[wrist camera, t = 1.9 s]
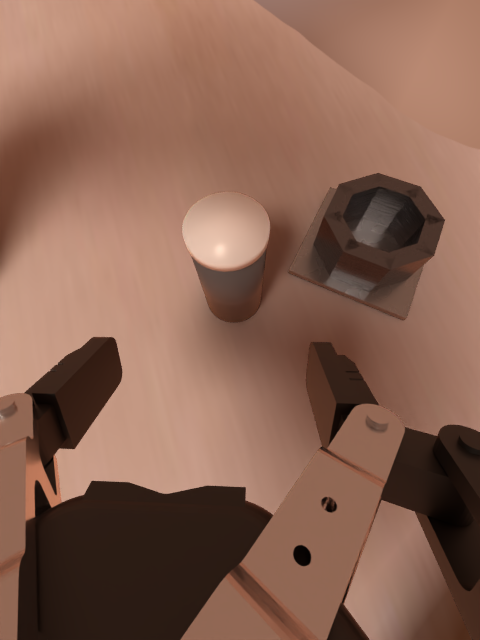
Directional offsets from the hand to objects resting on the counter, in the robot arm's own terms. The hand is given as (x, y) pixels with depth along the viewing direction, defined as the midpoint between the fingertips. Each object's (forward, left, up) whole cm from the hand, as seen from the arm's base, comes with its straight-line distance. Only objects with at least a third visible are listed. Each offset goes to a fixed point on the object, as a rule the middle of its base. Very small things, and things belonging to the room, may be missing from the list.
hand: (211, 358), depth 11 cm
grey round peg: (-4, +8, -12) cm, 15 cm away
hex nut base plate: (+5, +18, -12) cm, 22 cm away
